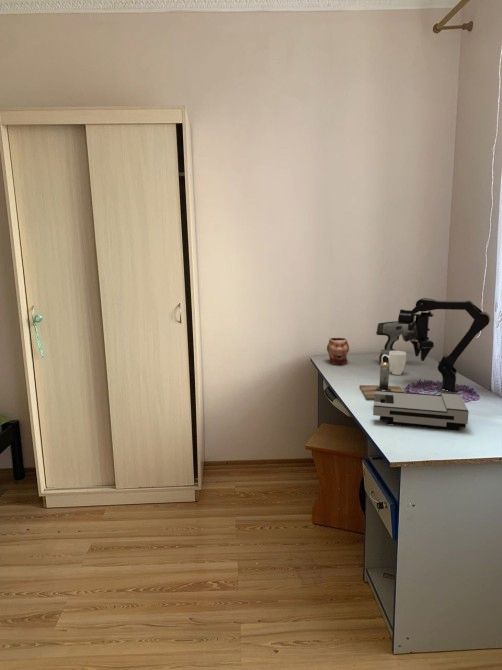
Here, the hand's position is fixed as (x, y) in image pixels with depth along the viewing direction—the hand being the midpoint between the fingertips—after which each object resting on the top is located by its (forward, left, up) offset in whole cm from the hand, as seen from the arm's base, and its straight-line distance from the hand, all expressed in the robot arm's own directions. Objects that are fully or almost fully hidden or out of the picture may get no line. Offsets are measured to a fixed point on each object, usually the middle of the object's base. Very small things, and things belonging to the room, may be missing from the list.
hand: (419, 358), depth 216 cm
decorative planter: (+43, +32, -13) cm, 55 cm away
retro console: (-43, +13, -14) cm, 47 cm away
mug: (+20, +7, -13) cm, 25 cm away
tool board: (-14, +19, -13) cm, 27 cm away
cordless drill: (+39, 0, -13) cm, 41 cm away
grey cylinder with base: (-14, +19, -12) cm, 26 cm away
